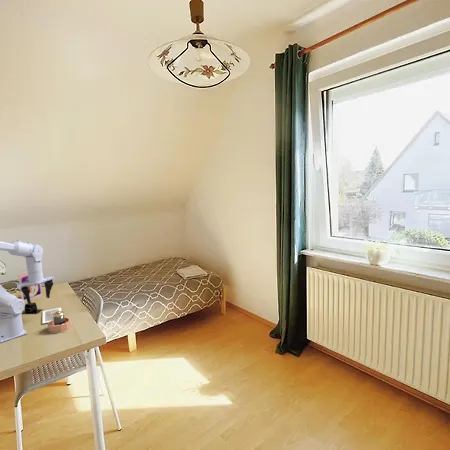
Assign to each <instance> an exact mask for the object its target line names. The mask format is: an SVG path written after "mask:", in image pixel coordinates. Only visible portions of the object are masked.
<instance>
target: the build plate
mask: <svg viewBox="0 0 450 450" xmlns="http://www.w3.org/2000/svg"><path fill="white" fill-rule="evenodd" d="M43 311H45V310H44V309H43V308H42V309H40V308H38V305H37V302H31V303H28V302H26V304H25V307H24V310H23V311H22V313H21V315H38V314H39V313H41V312H43Z"/></svg>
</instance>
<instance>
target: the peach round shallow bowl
mask: <svg viewBox="0 0 450 450" xmlns="http://www.w3.org/2000/svg"><path fill="white" fill-rule="evenodd" d="M64 319H65V323H64V324H61V325H54V319H53V320H51V321H50V322H48V323H47V330H48V332H49V333H50V334H57V333H59V334H60V333H63V332H67V331H68V330H70V329H71V328H72V326H73V325H72V318H71V317H69V316H64Z"/></svg>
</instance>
